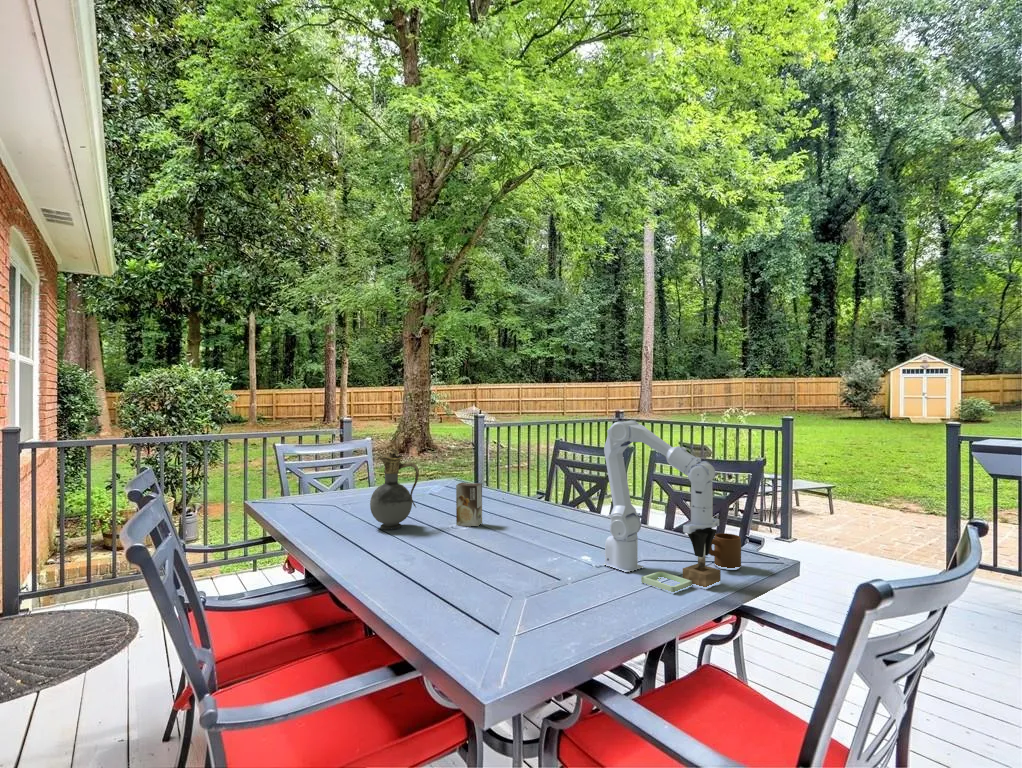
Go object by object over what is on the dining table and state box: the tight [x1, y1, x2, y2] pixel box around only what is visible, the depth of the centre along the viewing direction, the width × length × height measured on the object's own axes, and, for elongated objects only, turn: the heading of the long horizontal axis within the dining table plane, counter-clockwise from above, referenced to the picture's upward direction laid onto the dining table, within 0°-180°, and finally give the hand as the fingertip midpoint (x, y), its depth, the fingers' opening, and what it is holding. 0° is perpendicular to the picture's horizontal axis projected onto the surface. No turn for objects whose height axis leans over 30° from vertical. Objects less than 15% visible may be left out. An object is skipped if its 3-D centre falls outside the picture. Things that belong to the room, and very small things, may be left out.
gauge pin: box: [697, 545, 706, 568], centre depth 156 cm, size 2×2×8 cm
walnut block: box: [682, 563, 722, 587], centre depth 156 cm, size 7×7×4 cm
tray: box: [640, 570, 692, 592], centre depth 155 cm, size 10×8×2 cm
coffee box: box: [455, 482, 483, 527], centre depth 223 cm, size 9×6×16 cm
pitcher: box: [369, 448, 420, 530], centre depth 218 cm, size 11×19×30 cm, turn 121°
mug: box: [708, 532, 742, 568], centre depth 170 cm, size 12×8×9 cm, turn 114°
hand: (701, 555), depth 156 cm, fingers closed on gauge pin, 2 cm apart
